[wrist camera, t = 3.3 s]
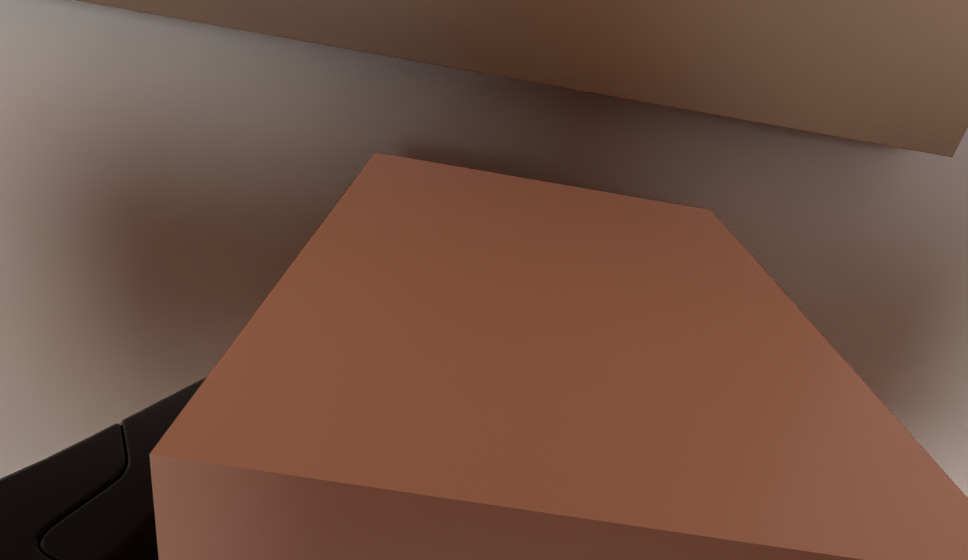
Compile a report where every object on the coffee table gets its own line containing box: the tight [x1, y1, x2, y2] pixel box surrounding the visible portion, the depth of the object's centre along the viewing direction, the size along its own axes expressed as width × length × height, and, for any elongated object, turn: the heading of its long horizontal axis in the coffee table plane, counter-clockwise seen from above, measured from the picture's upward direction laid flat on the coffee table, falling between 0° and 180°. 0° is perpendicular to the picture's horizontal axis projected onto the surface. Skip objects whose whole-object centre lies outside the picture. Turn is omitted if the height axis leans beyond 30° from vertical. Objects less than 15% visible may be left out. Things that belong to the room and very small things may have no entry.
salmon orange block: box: [149, 152, 968, 560], centre depth 8 cm, size 5×5×7 cm
